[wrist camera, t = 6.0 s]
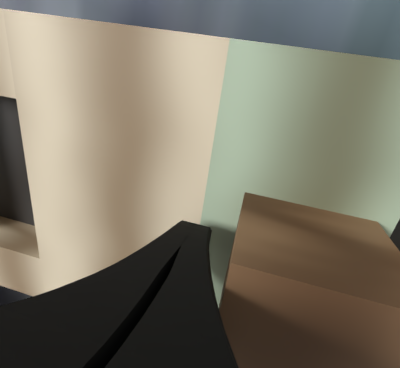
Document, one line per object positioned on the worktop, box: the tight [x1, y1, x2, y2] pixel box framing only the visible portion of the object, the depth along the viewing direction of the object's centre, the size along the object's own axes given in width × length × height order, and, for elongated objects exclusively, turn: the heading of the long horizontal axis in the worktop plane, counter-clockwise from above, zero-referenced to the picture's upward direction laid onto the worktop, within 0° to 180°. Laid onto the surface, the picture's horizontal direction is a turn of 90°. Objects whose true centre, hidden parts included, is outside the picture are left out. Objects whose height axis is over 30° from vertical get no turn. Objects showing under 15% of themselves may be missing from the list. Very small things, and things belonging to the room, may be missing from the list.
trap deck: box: [0, 9, 400, 308], centre depth 12 cm, size 28×14×2 cm, turn 83°
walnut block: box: [219, 192, 400, 368], centre depth 8 cm, size 4×4×4 cm
